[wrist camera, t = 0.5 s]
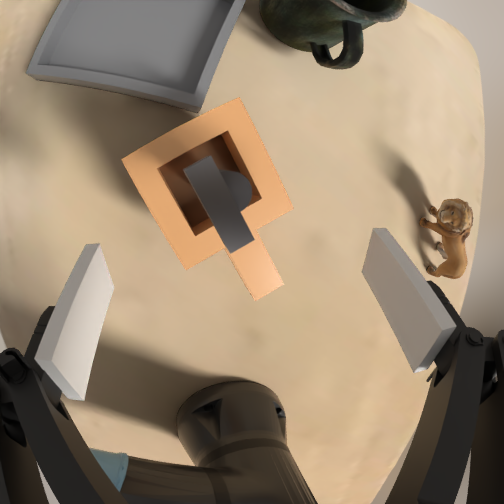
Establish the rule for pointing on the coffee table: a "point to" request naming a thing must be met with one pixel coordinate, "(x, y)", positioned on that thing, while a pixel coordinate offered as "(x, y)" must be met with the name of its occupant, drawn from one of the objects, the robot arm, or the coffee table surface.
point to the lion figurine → (451, 236)
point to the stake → (212, 190)
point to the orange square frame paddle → (204, 234)
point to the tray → (137, 47)
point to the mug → (327, 25)
